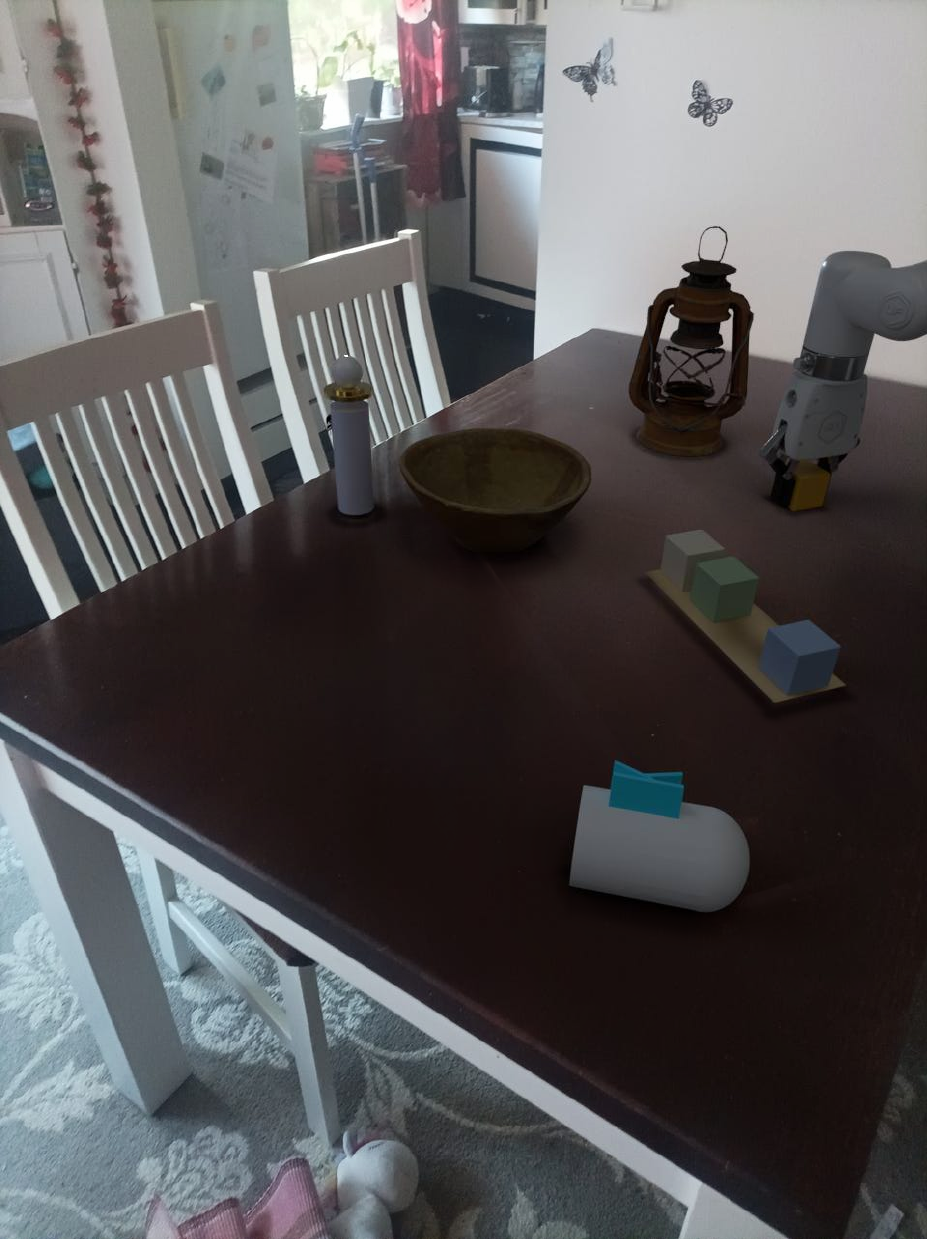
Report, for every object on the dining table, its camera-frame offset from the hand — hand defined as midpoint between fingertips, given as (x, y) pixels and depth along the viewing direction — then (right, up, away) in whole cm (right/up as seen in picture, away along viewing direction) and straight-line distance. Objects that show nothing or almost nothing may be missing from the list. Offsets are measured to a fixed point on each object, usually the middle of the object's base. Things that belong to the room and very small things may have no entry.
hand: (797, 498), depth 115 cm
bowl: (-41, -6, -9) cm, 42 cm away
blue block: (-13, -21, -32) cm, 41 cm away
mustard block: (0, 0, 0) cm, 0 cm away
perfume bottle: (-58, -2, -4) cm, 58 cm away
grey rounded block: (-30, -34, -49) cm, 67 cm away
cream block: (-19, -11, -18) cm, 29 cm away
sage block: (-17, -15, -23) cm, 32 cm away
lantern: (-11, +11, +17) cm, 23 cm away
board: (-16, -17, -25) cm, 34 cm away
